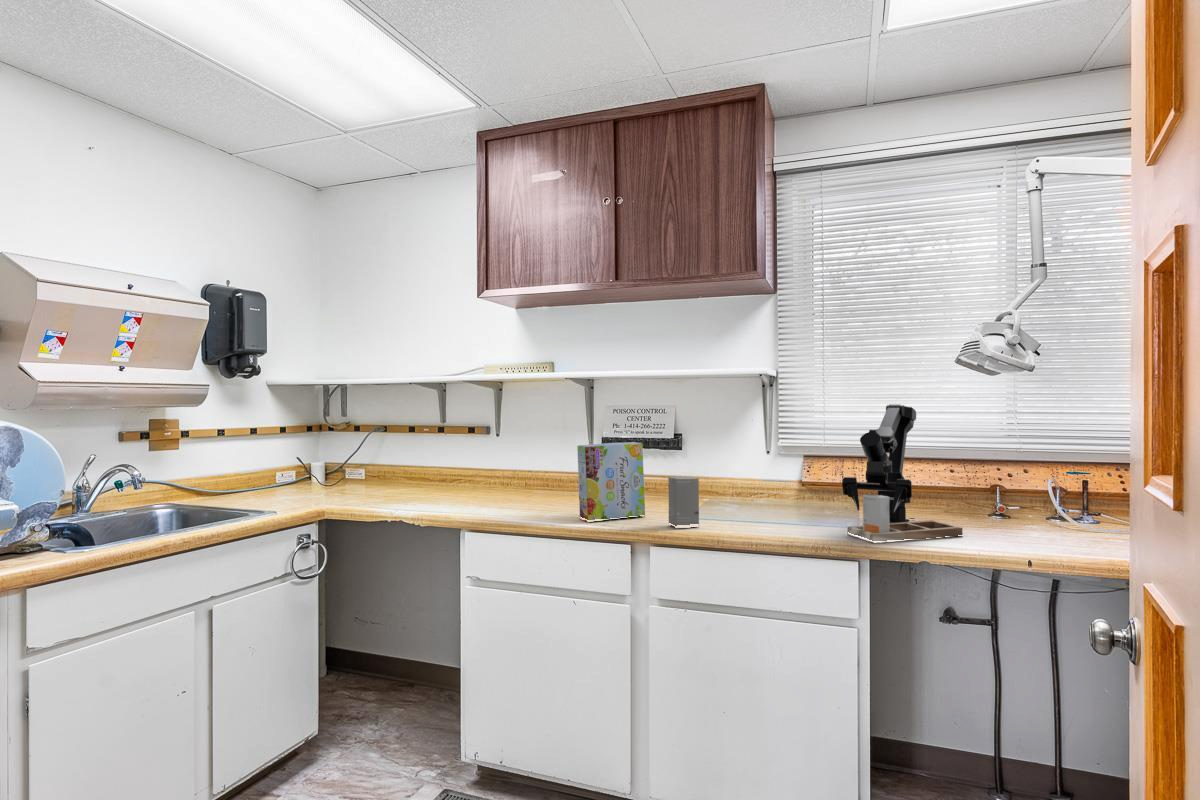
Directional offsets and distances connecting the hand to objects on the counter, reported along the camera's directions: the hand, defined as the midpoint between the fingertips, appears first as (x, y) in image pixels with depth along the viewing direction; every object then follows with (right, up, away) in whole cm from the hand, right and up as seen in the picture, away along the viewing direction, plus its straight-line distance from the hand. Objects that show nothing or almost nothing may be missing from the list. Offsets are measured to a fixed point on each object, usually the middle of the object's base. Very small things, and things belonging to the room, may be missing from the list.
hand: (875, 510), depth 190 cm
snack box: (-75, -9, +38) cm, 84 cm away
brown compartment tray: (+10, -8, +4) cm, 13 cm away
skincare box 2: (+1, -8, +1) cm, 8 cm away
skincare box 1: (-52, -9, +22) cm, 57 cm away
